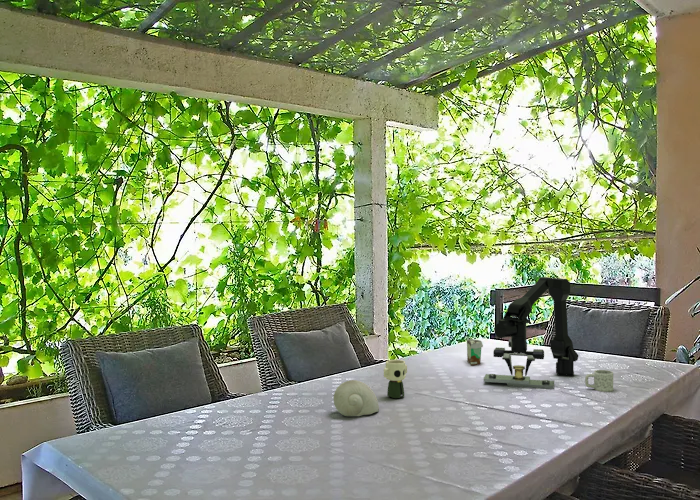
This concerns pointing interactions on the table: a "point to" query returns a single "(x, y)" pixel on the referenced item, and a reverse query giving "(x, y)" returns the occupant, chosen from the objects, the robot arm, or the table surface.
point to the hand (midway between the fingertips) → (518, 375)
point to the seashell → (355, 399)
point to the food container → (474, 352)
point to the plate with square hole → (519, 381)
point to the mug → (601, 380)
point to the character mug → (395, 377)
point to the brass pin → (519, 372)
